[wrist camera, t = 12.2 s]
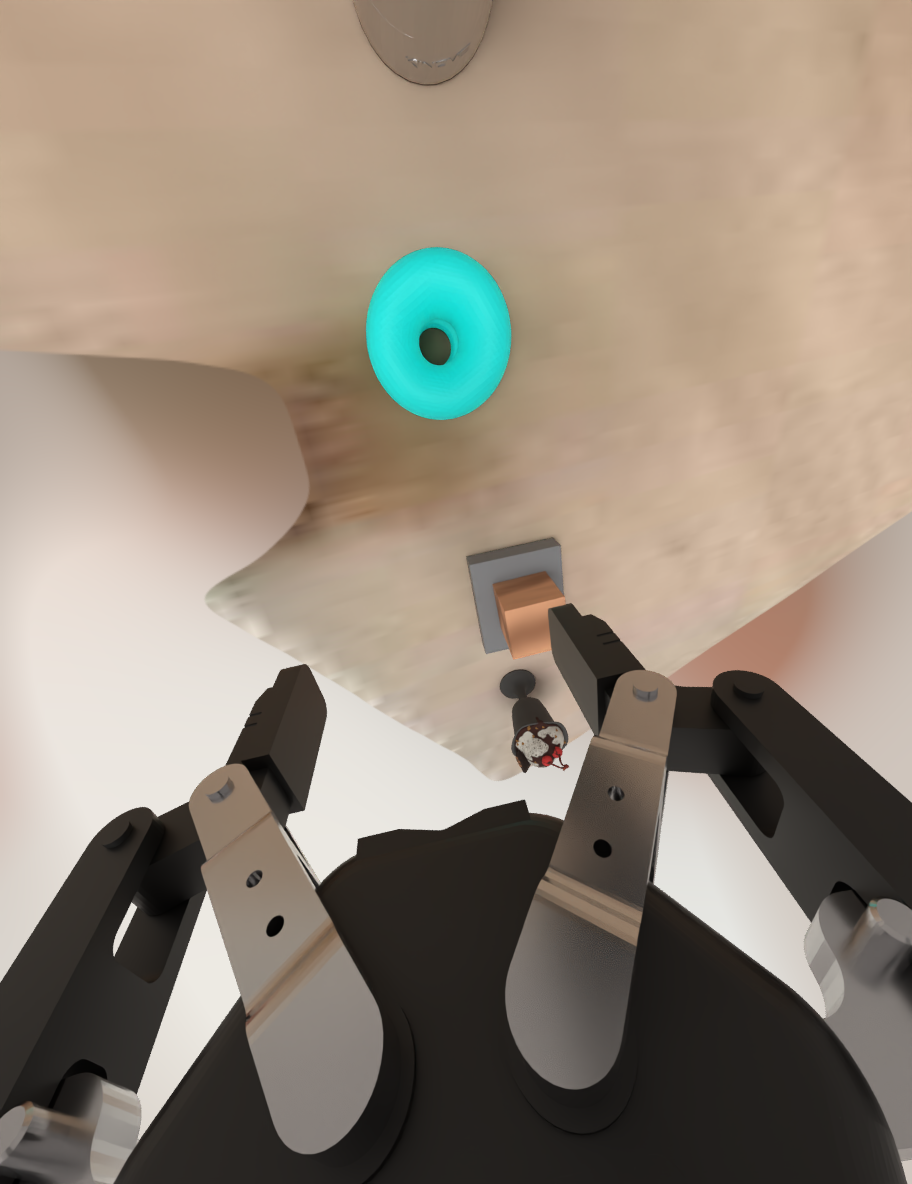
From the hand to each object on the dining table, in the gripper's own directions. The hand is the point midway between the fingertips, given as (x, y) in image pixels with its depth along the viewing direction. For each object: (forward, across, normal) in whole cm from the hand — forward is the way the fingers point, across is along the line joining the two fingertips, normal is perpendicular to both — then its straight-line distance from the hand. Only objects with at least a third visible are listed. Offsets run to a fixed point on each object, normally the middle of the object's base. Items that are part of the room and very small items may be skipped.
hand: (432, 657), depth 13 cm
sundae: (+30, -7, +30) cm, 43 cm away
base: (+31, -8, +16) cm, 36 cm away
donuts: (+30, -4, -10) cm, 32 cm away
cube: (+28, -9, +16) cm, 33 cm away
